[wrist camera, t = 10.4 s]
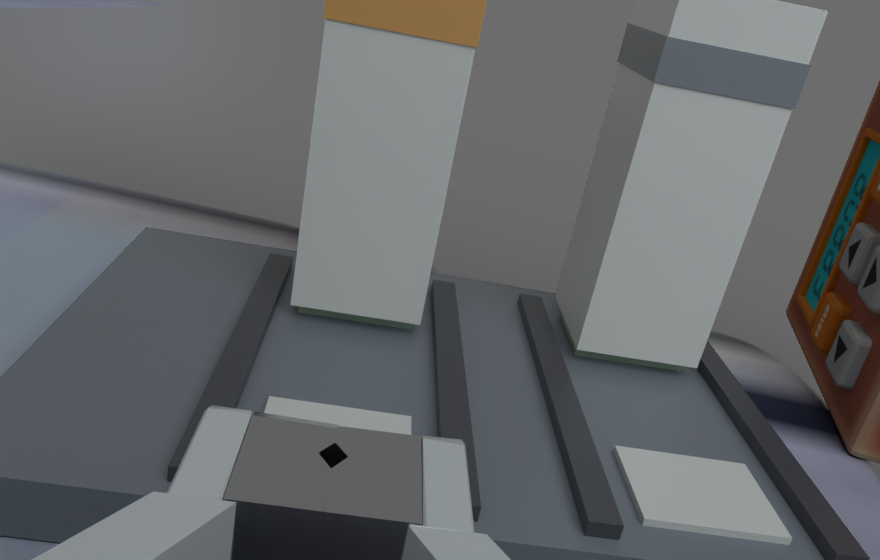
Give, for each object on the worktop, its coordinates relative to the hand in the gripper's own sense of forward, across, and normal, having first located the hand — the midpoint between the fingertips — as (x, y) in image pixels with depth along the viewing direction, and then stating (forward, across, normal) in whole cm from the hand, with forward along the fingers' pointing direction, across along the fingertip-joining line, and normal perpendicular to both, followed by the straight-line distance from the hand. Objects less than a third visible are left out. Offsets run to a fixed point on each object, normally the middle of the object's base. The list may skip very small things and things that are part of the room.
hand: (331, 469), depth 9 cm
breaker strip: (+12, -2, +7) cm, 14 cm away
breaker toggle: (+16, 0, +5) cm, 16 cm away
